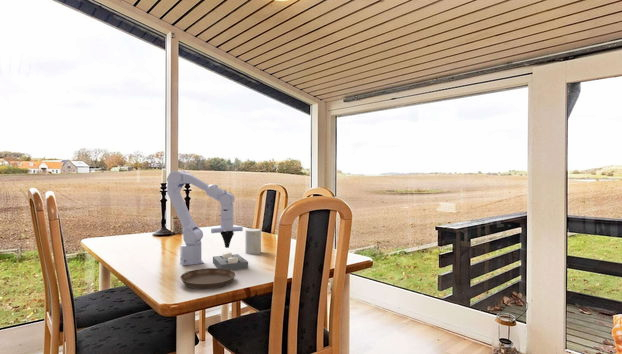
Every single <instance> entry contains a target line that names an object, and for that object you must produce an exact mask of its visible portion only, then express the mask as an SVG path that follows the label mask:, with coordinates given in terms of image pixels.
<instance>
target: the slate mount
mask: <svg viewBox="0 0 622 354" xmlns="http://www.w3.org/2000/svg"><path fill="white" fill-rule="evenodd" d="M232 257H238V263H231V264H228V258H225V259H222V255H217V256H212V264H213V265H214V266H215V268H221V269H227V270H231V271H238V270H239V271H240V270H244V269H245V270H247V269H249V261H248V260H247V259H245V258H244V257H243V256H241V255H240V254H239V253H236V254H232Z"/></svg>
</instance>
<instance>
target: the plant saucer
mask: <svg viewBox="0 0 622 354" xmlns="http://www.w3.org/2000/svg"><path fill="white" fill-rule="evenodd" d="M235 277H236V272H235V271H234V270H227V269H221V268H217V267H211V268H210V267H208V268H207V267H206V268H205V267H204V268H198V269H193V270H190V271H186V272H184V273H182V274H181V276H180V280H181V281H182V282H183V284H184V285H185V286H187V287H189V288H190V289H195V290H212V289H213V290H214V289H218V288H222V287H225V286H227V285H229V284H230V283H231V282H232V281H233V280H234V279H235Z"/></svg>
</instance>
